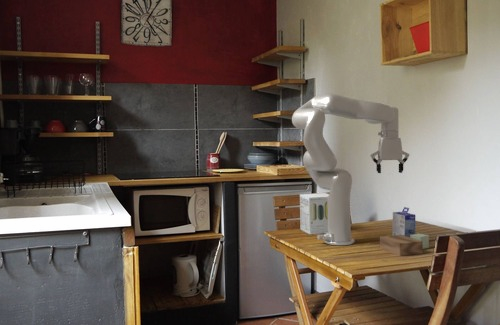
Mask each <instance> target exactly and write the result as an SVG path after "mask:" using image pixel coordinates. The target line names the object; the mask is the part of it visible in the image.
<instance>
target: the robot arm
mask: <svg viewBox="0 0 500 325" xmlns="http://www.w3.org/2000/svg"><path fill="white" fill-rule="evenodd" d="M326 115H332V116H337V117H341V118H344V119H350V120H364V121H366V122H367V123H368V124H370V125H371V124H373V125H378V124H381V125H380V128H381V129H380V131H379V132H377V135H378V136H379V137H380V138H379V140H378V149H377V151H374V152H373V153H370V155H369V156H370V158H371V159H372V161H373V162H374V163H375V164H376V172H377V174H381V173H382V164H381V163H382V162H383V161H398V162H399V163H398V173H400V174H402V173H403V171H404V164H406V162H407V161H408V159H409V157H410V153H408V152H406V151H404V150H403V146H402V145H403V144H402V139H401V137H399V109H398V108H397V107H395V106H393V107H392V106H390V105H387V104H384V103H379V102H374V101H368V100H363V99H362V100H361V99H355V98H352V97H347V96H343V95H339V94H335V93H325V94H318V95H315V96H313V97H312V98H311V99H310V100H308V101H307V102H305V103H304V104H302V105H301V106H300V107H298V108H297V109H296V110H295V111H294V112H293V114H292V116H291V123H292V125H293V127H295V128H296V129H298V130H304V132H303V146H304V147H305V150H306V151H305V152H304V154H303V158H302V162H303V166H304V168H305V170H306V172H307V173H308V175H309V176H310V177H311V178H312V180H313V182H314V183H315V185H316V186H318V188H320V189H322V190H327V191H329V193H328V194H329V196H328V200H327V209H328V232H326V233H323V234H316V237H317V240H324V244H328V245H329V246H330V245H331V246H348V245H353V244H355V238H353V237H351V236H352V233H351V232H352V231H351V190H352V184H353V178H352V175H351V173H350V172H349V171H348V170H346V169H345V168H338V167H337V162H338V161H337V157H336V155H335V154H334V151H333V150H332V149H331V148H330V146H329V144H328V143H327V140H326V139H325V137H324V127H325V124H326ZM403 155H404V158H403ZM376 156H377V158H376Z"/></svg>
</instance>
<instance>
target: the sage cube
mask: <svg viewBox="0 0 500 325" xmlns="http://www.w3.org/2000/svg"><path fill="white" fill-rule="evenodd" d="M410 237H411V238H414V239H417V240H420V241H423V250H425V249H429V248H430V235H429V234H423V233H415V234H413V235H410Z"/></svg>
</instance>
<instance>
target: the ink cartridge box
mask: <svg viewBox="0 0 500 325" xmlns="http://www.w3.org/2000/svg"><path fill="white" fill-rule="evenodd" d="M409 209H410V207H406V206H405V207H404V206H403V209H402V211H393V212H392V229H391V230H392V235H391V236H393V235H404V236H407V237H410V235H413V234H416V214H413V213H409V211H410V210H409Z"/></svg>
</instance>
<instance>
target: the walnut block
mask: <svg viewBox="0 0 500 325" xmlns="http://www.w3.org/2000/svg"><path fill="white" fill-rule="evenodd" d="M379 249H381V250H384V251H386V252H389V253H391V254H393V255H396V256H399V257H402V256H404V257H405V256H409V255H410V256H411V255H412V256H413V255H419V254H423V253H424V251H423V250H424V249H423V241H420V240H417V239H414V238H411V237H407V236H404V235H393V236H392V235H385V236H379Z"/></svg>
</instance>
